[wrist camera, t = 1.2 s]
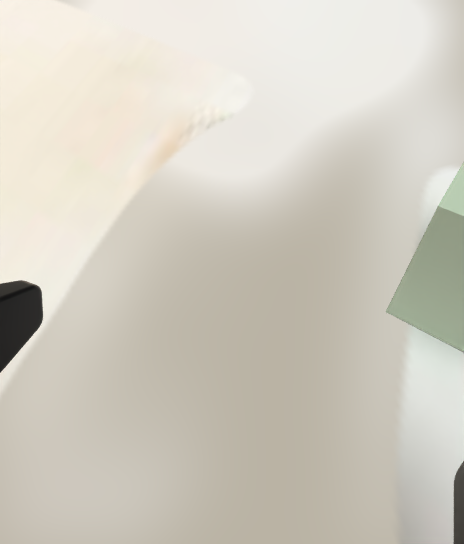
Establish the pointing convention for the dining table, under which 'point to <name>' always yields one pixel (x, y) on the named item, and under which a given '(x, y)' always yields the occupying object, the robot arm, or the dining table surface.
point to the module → (437, 274)
